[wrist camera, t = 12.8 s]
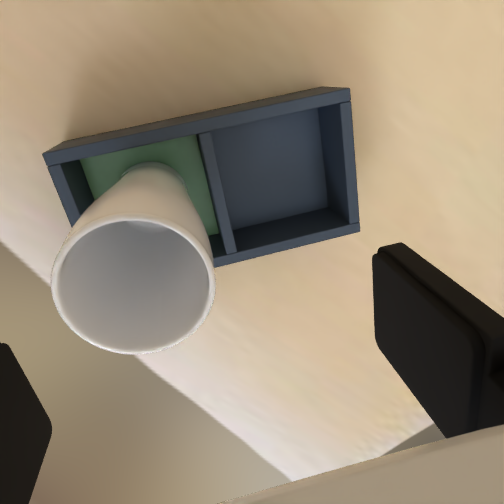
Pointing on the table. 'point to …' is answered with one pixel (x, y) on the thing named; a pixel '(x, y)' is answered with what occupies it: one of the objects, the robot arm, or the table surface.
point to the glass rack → (236, 170)
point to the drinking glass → (136, 265)
